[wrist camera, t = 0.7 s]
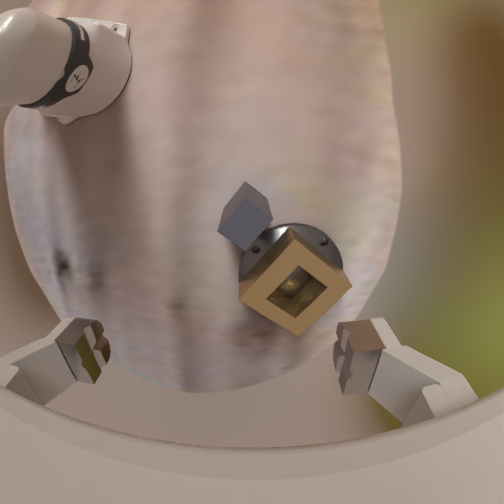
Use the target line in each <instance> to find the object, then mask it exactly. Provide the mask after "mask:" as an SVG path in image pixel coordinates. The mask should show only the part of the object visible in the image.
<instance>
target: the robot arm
mask: <svg viewBox="0 0 504 504" xmlns="http://www.w3.org/2000/svg"><path fill="white" fill-rule="evenodd" d="M116 28H118V29H117V30H116V31H115V29H116ZM129 33H130V28H129V26H128V25H125V24H122V23H116V22H110V21H103V20H95V19H86V18H75V17H68V18H66V19H64V18H54V17H52V16H49V15H47V14H44V13H41V12H39V11H36V10H33V9H31V8H17V9H13V10H10V11H7V12H4V13H2V14H0V106H7V105H19V106H21V107H25V108H31V109H37V110H39V111H40V114H41V115H43V116H53V117H56V118H57V119H58V120H59V122H60V123H62V124H69V123H71V122H73V121H74V120H75V119H77V118H78V117H81V116H87V115H92V114H95V113H97V112H99V111H101V110H103V109H104V108H106V107H107V106H108V105H110V104H111V103H112V102H113V101H114V100H115V99H116V98H117V96H118V95H119V94H120V92H121V91H122V89H123V88H124V86H125V84H126V82H127V79H128V77H129V74H130V70H131V52H130V49H129V45H128V38H129ZM103 332H104V329H103V326H102V324H101V322H99V321H98V320H91V319H84V318H76V317H65V318H64V319H63V320H62V321H61V322H60V323H59V324H58V325H57V326H56V327H55V328H54V329H53V330H52V331H51V333H50V334H49V335H48V336H47V337H46V338H45V339H43V338H42V339H40V340H37V341H35V342H33V343H31V344H29V345H26V346H24V347H22V348H20V349H18V350H15V351H14V352H11V353H9V354H7V355H4V356H2V357H0V504H504V387H503V388H501V389H499V390H497V391H495V392H493V393H491V394H489V395H487V396H485V397H483V398H481V399H478V397H477V396H476V394H475V393H474V392H473V390H472V388H471V387H470V385H469V384H468V382H467V381H466V379H465V378H464V376H463V375H462V374H461V373H459V372H457V371H455V370H453V369H451V368H449V367H447V366H445V365H443V364H441V363H439V362H437V361H435V360H433V359H431V358H429V357H427V356H425V355H423V354H421V353H419V352H417V351H415V350H413V349H411V348H409V347H408V346H401V344H400V343H399V341H398V339H397V338H396V336H395V335H394V333H393V332H392V330H391V328H390V327H389V326H388V324H387V323H386V321H385V319H383V318H382V317H379V318H372V319H367V320H359V321H349V322H339V323H338V325H337V330H336V334H337V337H338V340H337V341H336V343H335V344H334V350H333V361H334V366H335V370H336V371H337V372H338V373H340V376H339V384H340V387H341V390H342V394H343V395H349V394H358V393H365V392H368V394H369V395H371V396H372V397H373V398H374V399H375V400H376V401H378V402H379V403H380V404H381V405H382V406H383V407H385V408H386V409H387V410H388V411H389V412H390V413H392V414H393V415H394V416H395V417H396V418H398V419H399V420H400V421H401V422H402V423H403V425H402V427H401V428H400V429H396V430H392V431H388V432H384V433H380V434H376V435H371V436H366V437H361V438H356V439H350V440H344V441H338V442H331V443H323V444H314V445H305V446H292V447H272V448H236V447H215V446H202V445H192V444H184V443H176V442H169V441H163V440H157V439H152V438H146V437H141V436H137V435H132V434H128V433H124V432H119V431H116V430H112V429H108V428H104V427H101V426H97V425H94V424H90V423H87V422H85V421H81V420H79V419H76V418H73V417H70V416H67V415H64V414H62V413H59V412H57V411H54V410H51V409H49V408H47V407H44V405H46V404H47V403H48V402H50V401H51V400H52V399H54V398H55V397H57V396H58V395H59V394H60V393H62V392H63V391H65V390H66V389H67V388H69V387H70V386H71V385H73V384H74V383H76V382H77V381H81V382H86V383H91V384H95V382H96V380H97V379H98V377H99V376H100V374H101V367H103V366H104V365H106V364H107V362H108V361H109V359H110V353H111V351H110V345H109V342H108V340H107V339H106V338H105V337H104V336H103ZM76 380H77V381H76Z"/></svg>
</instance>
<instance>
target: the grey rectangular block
mask: <svg viewBox="0 0 504 504" xmlns="http://www.w3.org/2000/svg"><path fill="white" fill-rule="evenodd" d="M272 220H273V217H272V214H271V211H270V207H269V204H268V200H267V198H266V197H265V196H263V195H262V194H261V193H259V192H258V191H257V190H256V189H254V188H253V187H252V186H250V185H249V184H248V183H246V182H244V184H243V185H242V186H241V187H240V189H239V190H238V191H237V192H236V194H235V195H234V196H233V197H232V199H231V200H230V201H229V202H228V204H227V205H226V206H225V207H224V210H223V214H222V217H221V221H220V224H219V228H218V231H217V232H219V233H220V234H221V235H223V236H224V237H226V238H227V239H228V240H230V241H231V242H233V243H234V244H236V245H237V246H238V247H240V248H241V249H243V250H244V251H246V250H247V249H248V248H249V247H250V245H251V244H252V243H253V242H254V241H255V240H256V238H257V237H258V236H259V235H260V234H261V233H262V232H263V230H264V229H265V228H266V227H267V226H268V225H269V223H270V222H271V221H272Z"/></svg>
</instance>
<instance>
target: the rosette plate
mask: <svg viewBox="0 0 504 504" xmlns="http://www.w3.org/2000/svg"><path fill="white" fill-rule="evenodd" d="M351 287H352V284H351V283H350V281H349V279H348V278H347V276H346V275H345V273H344V271H343V264H342V258H341V255H340V252H339V250H338V248H337V247H336V245H335V244H334V243H333V241H332V240H331V239H330V238H329V237H328V236H327V235H326V234H325V233H324V232H322V231H321V230H319V229H317V228H315V227H312V226H310V225H305V224H298V223H289V224H282V225H278V226H275V227H272V228H270V229H268V230H266V231H264V232H263V233H261V234H260V235H259V236H258V237H257V238H256V240H255V241H254V242H253V243H252V244H251V245H250V247H249V248H248V249H247V250H246V251H245V252H244V254H243V256H242V258H241V262H240V266H239V300H240V301H241V302H243V303H244V304H246V305H248V306H249V307H251V308H252V309H254V310H256V311H257V312H259V313H260V314H262V315H264V316H265V317H267V318H269V319H270V320H272V321H273V322H275V323H277V324H278V325H280V326H282V327H283V328H285V329H287V330H288V331H290V332H292V333H293V334H295V335H297V336H299V335H300V334H301V333H303V332H304V331H305V330H306V329H307V328H308V327H309V326H310V325H312V324H313V323H314V322H315V321H316V320H317V319H318V318H319V317H320V316H321V315H323V314H324V313H325V312H326V311H327V310H328V309H329V308H330V307H331V306H332V305H333V304H334V303H335V302H336V301H337V300H338V299H340V298H341V297H342V296H343V295H344V294H345V293H346V292H347V291H348V290H349V289H350V288H351Z"/></svg>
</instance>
